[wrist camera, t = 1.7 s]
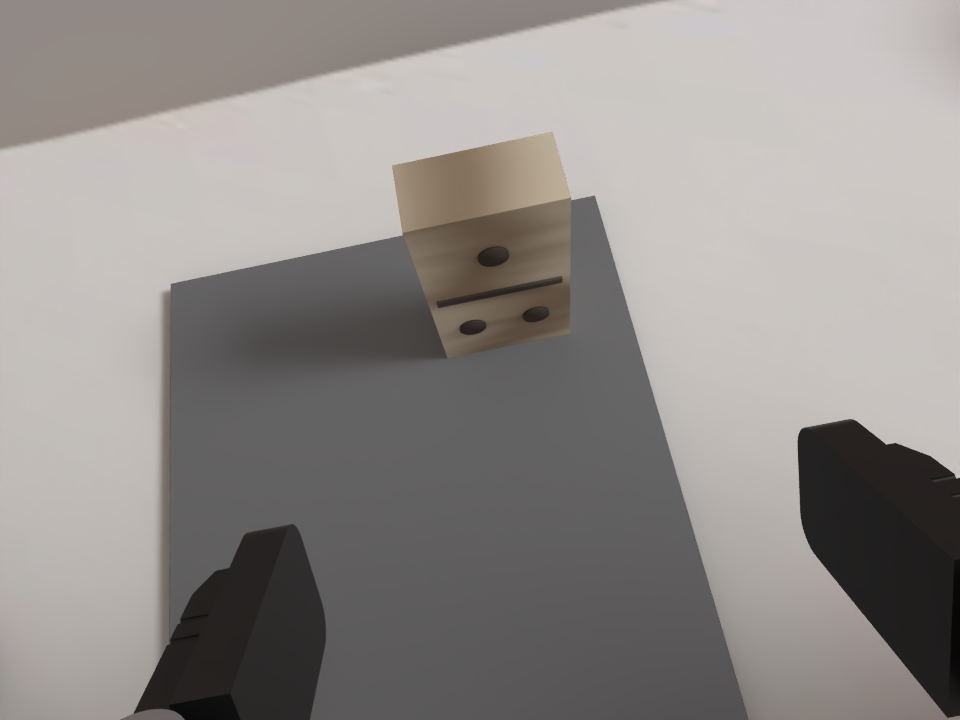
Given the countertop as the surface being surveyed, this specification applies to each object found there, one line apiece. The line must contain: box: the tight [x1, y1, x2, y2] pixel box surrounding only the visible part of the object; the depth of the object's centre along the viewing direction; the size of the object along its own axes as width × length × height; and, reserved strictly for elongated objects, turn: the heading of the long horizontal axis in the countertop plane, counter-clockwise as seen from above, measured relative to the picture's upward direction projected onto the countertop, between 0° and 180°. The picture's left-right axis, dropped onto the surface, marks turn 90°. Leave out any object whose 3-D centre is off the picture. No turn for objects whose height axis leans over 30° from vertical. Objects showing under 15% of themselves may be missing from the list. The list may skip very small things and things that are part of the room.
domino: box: [392, 132, 571, 358], centre depth 26 cm, size 5×3×9 cm, turn 100°
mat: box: [169, 196, 748, 720], centre depth 28 cm, size 19×24×1 cm
